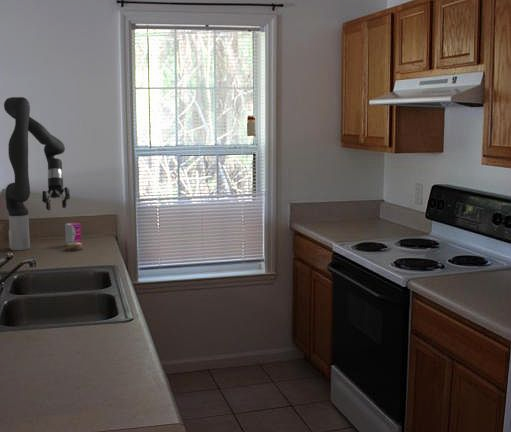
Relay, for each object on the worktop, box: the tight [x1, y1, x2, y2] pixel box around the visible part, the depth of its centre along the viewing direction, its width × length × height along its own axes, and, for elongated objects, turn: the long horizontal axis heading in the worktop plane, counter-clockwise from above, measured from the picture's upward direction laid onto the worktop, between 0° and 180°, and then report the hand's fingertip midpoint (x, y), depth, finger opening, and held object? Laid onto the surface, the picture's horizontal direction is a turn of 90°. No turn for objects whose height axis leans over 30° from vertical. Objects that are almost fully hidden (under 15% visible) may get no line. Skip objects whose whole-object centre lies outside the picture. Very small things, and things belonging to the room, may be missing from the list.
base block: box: [65, 241, 83, 252], centre depth 339 cm, size 8×8×3 cm
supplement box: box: [64, 222, 82, 244], centre depth 348 cm, size 6×6×12 cm
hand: (56, 209), depth 348 cm, fingers open, 8 cm apart
